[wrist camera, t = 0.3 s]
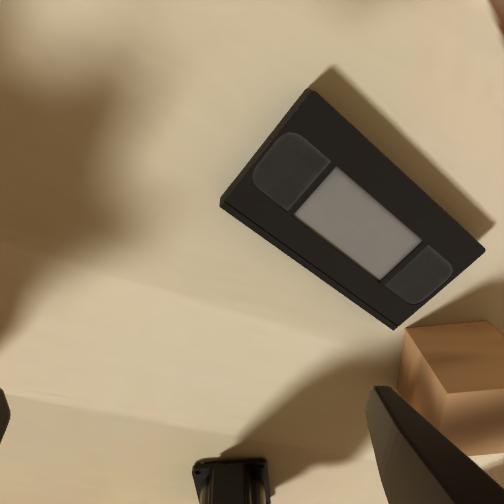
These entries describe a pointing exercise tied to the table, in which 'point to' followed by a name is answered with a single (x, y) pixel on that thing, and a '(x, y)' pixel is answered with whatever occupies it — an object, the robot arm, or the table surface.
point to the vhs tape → (349, 214)
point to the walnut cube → (457, 382)
